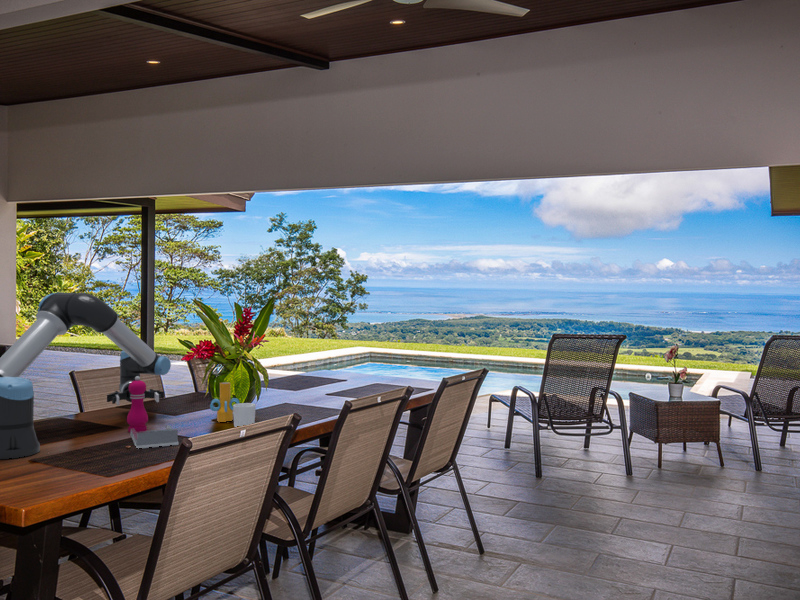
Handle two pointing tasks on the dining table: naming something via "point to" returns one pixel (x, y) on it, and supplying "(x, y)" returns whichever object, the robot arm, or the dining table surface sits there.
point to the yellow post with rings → (224, 404)
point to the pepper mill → (137, 406)
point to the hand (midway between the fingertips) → (138, 399)
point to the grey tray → (155, 437)
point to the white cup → (244, 414)
